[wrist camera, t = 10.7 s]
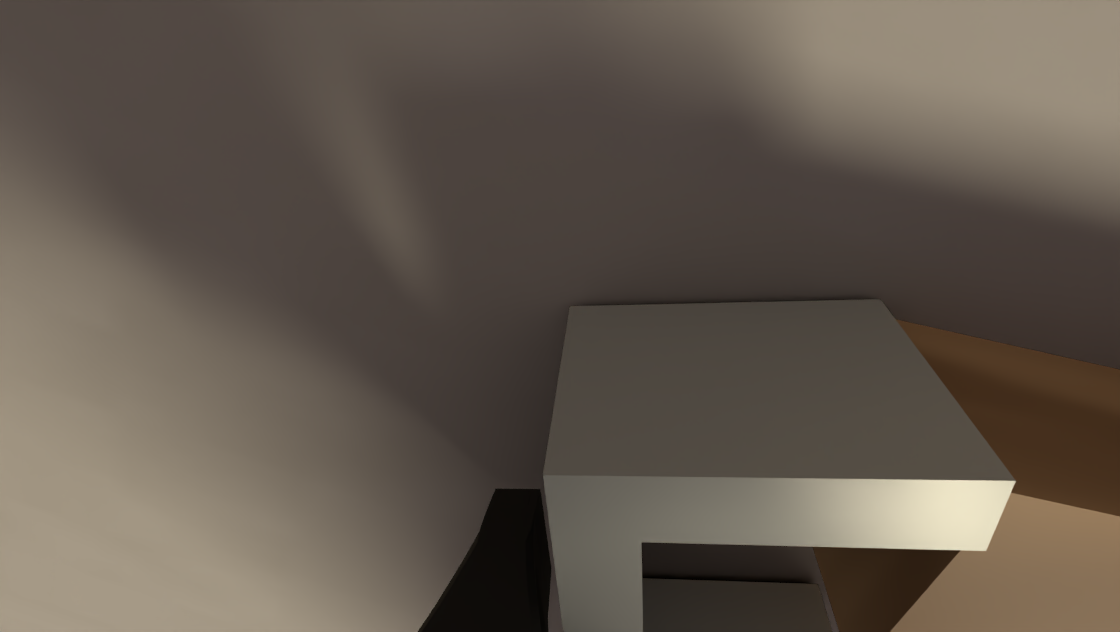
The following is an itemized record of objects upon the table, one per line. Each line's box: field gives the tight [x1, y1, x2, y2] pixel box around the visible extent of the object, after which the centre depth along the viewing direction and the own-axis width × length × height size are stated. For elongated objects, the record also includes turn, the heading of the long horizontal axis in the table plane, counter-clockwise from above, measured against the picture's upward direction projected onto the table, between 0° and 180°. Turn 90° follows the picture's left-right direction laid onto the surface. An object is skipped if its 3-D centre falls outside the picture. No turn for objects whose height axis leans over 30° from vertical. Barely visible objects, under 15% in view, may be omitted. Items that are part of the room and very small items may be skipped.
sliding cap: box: [543, 299, 1016, 632], centre depth 9 cm, size 8×4×4 cm, turn 5°
